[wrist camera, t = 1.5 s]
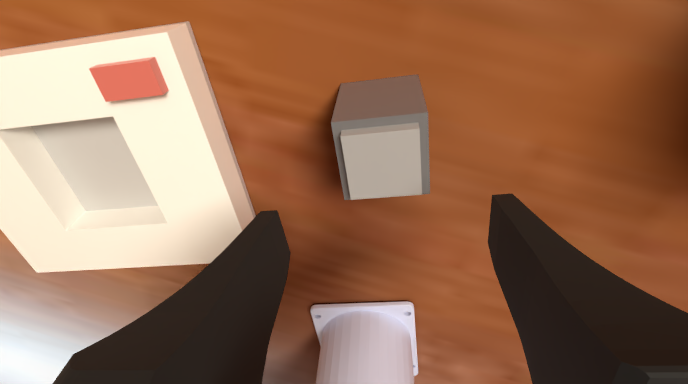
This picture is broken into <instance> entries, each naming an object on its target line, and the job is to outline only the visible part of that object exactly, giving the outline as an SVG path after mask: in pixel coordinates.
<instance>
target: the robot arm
mask: <svg viewBox="0 0 688 384" xmlns="http://www.w3.org/2000/svg"><path fill="white" fill-rule="evenodd" d="M488 245H489V249H490V253H491V258H492V262H493V266H494V270H495V272H496V275H497V278H498V280H499V283H500V286H501V288H502V291H503V294H504V296H505V299H506V301H507V304H508V307H509V309H510V312H511V314H512V317H513V320H514V322H515V325H516V327H517V330H518V333H519V336H520V339H521V342H522V345H523V349H524V353H525V356H526V360H527V364H528V368H529V371H530V375H531V379H532V383H533V384H688V313H686V312H684V311H682V310H680V309H678V308H676V307H674V306H671V305H669V304H667V303H665V302H663V301H661V300H660V299H658V298H656V297H654V296H652V295H650V294H648V293H646V292H644V291H643V290H641V289H639V288H637V287H635V286H634V285H632V284H630V283H628V282H626V281H625V280H623V279H621V278H620V277H618V276H616V275H615V274H613V273H612V272H610V271H608V270H607V269H605V268H604V267H602V266H601V265H599V264H597V263H596V262H594V261H593V260H591V259H590V258H589V257H587V256H586V255H584V254H583V253H582V252H580V251H579V250H578V249H576V248H575V247H573V246H572V245H571V244H569V243H568V242H567V241H566V240H564V239H563V238H562V237H561V236H559V235H558V234H557V233H556V232H555V231H553V230H552V229H551V228H550V227H549V226H547V225H546V224H545V223H544V222H543V221H542V220H541V219H539V218H538V217H537V216H536V215H535V214H534V213H533V212H532V211H531V210H530V209H528V208H527V207H526V206H525V205H524V204H523V203H522V202H521V201H520V200H519V199H518V198H516V197H515V196H514V195H513V194H501V195H492V203H491V214H490V225H489V236H488ZM289 260H290V250H289V247H288V243H287V240H286V237H285V234H284V231H283V227H282V224H281V221H280V218H279V215H278V211H277V210H276V211H261V212H260V213H259V214H258V215H257V216H256V217H255V218H254V219H253V220H252V221H251V222H250V223H249V224H248V225H247V226H246V227H245V229H244V230H243V231H242V232H241V233H240V234H239V235H238V236H237V237H236V238H235V239H234V240H233V241H232V242H231V243H230V244H229V245H228V247H227V248H226V249H225V250H224V251H223V252H222V253H221V254H219V255H218V256H217V257H216V258H215V259H214V260H213V261H212V262H211V263H210V264H209V265H208V266H207V267H206V268H205V269H204V270H203V271H202V272H200V273H199V274H198V275H197V276H196V277H195V278H193V279H192V280H191V281H190V282H189V283H187V284H186V285H185V286H184V287H182V288H181V289H180V290H179V291H177V292H176V293H175V294H173V295H172V296H171V297H169V298H168V299H166V300H165V301H163V302H162V303H161V304H159V305H158V306H156V307H155V308H154V309H152V310H151V311H149V312H148V313H146V314H145V315H143V316H141V317H140V318H138V319H137V320H135V321H134V322H132V323H130V324H129V325H127V326H125V327H123V328H122V329H120V330H118V331H117V332H115V333H113V334H111V335H110V336H108V337H106V338H104V339H102V340H100V341H98V342H96V343H94V344H93V345H91V346H89V347H87V348H85V349H83V350H81V351H79V352H77V353H75V354H73V356H72V357H71V358H70V360H69V361H68V363H67V364H66V366H65V367H64V368H63V370H62V371H61V373H60V374H59V376H58V377H57V378H56V380H55V381H54V383H53V384H262V378H263V372H264V366H265V360H266V355H267V349H268V344H269V340H270V336H271V333H272V329H273V326H274V322H275V319H276V315H277V312H278V308H279V305H280V301H281V298H282V294H283V291H284V287H285V283H286V280H287V274H288V268H289ZM310 312H311V316H312V319H313V322H314V326H315V329H316V333H317V336H318V339H319V343H320V346H321V349H320V356H319V363H318V370H317V377H316V384H414V376H415V375H417V374H418V362H417V347H416V332H415V317H414V305H413V303H411V302H408V301H404V302H375V303H347V304H319V305H313V306H312V307H311V310H310Z"/></svg>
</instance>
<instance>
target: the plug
mask: <svg viewBox="0 0 688 384" xmlns="http://www.w3.org/2000/svg"><path fill="white" fill-rule="evenodd" d="M331 126H332V132H333V138H334V143H335V149H336V155H337V160H338V166H339V172H340V177H341V183H342V189H343V195H344V200H355V199H368V198H382V197H396V196H409V195H422V194H430V174H429V134H428V111H427V107H426V103H425V99H424V95H423V92H422V88H421V84H420V80H419V76H418V75H409V76H401V77H392V78H384V79H375V80H367V81H359V82H350V83H342V84H341V85H340V89H339V93H338V97H337V100H336V104H335V108H334V112H333V116H332V120H331Z"/></svg>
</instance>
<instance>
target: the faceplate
mask: <svg viewBox="0 0 688 384" xmlns="http://www.w3.org/2000/svg"><path fill="white" fill-rule="evenodd" d="M255 217H256V215H255V212H254V209H253V206H252V203H251V200H250V198H249V195H248V192H247V189H246V186H245V183H244V180H243V177H242V174H241V171H240V168H239V165H238V163H237V160H236V157H235V154H234V151H233V148H232V145H231V142H230V139H229V136H228V133H227V131H226V128H225V125H224V122H223V119H222V116H221V113H220V110H219V107H218V104H217V101H216V98H215V96H214V93H213V90H212V87H211V84H210V81H209V78H208V75H207V72H206V69H205V66H204V63H203V61H202V58H201V55H200V52H199V49H198V46H197V43H196V40H195V37H194V34H193V31H192V29H191V26H190V23H189V21H188V22H181V23H175V24H168V25H161V26H155V27H148V28H142V29H135V30H128V31H122V32H115V33H108V34H102V35H95V36H89V37H82V38H75V39H69V40H62V41H56V42H49V43H42V44H36V45H29V46H22V47H16V48H9V49H3V50H0V229H1V230H2V231H3V233H4V234H5V235H6V236H7V237H8V239H9V240H10V241H11V242H12V243H13V245H14V246H15V247H16V248H17V249H18V251H19V252H20V253H21V254H22V255H23V257H24V258H25V259H26V260H27V262H28V263H29V264H30V265H31V266H32V268H33V269H34V270H35V271H36V272H37V273H38V272H57V271H76V270H95V269H113V268H132V267H151V266H170V265H188V264H207V263H211V262H212V261H213V260H214V259H215V258H216V257H217V256H218V255H219V254H221V253H222V252H223V251H224V250H225V249H226V248H227V247H228V245H229V244H230V243H231V242H232V241H233V240H234V239H235V238H236V237H237V236H238V235H239V234H240V233H241V232H242V231H243V230H244V229H245V227H246V226H247V225H248V224H249V223H250V222H251V221H252V220H253V219H254V218H255Z"/></svg>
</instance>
